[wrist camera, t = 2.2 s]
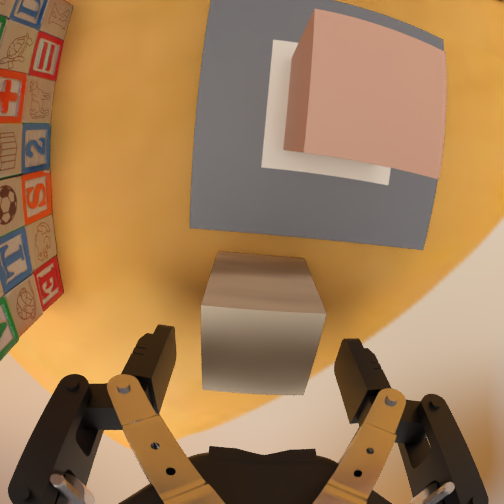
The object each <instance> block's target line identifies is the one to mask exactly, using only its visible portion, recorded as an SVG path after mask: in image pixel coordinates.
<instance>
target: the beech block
mask: <svg viewBox="0 0 504 504" xmlns="http://www.w3.org/2000/svg"><path fill="white" fill-rule="evenodd" d="M326 315H327V313H326V311H325V308H324V306H323V303H322V301H321V298H320V296H319V293H318V291H317V288H316V286H315V284H314V281H313V279H312V276H311V274H310V272H309V269H308V267H307V264H306V262H305V260H304V258H296V257H284V256H272V255H260V254H248V253H236V252H224V251H218V252H217V255H216V259H215V262H214V265H213V268H212V271H211V274H210V278H209V281H208V284H207V287H206V290H205V294H204V297H203V300H202V304H201V355H202V389H203V390H211V391H221V392H232V393H246V394H266V395H304V392H305V388H306V386H307V382H308V379H309V376H310V373H311V369H312V366H313V363H314V359H315V356H316V352H317V349H318V345H319V341H320V338H321V334H322V330H323V327H324V323H325V319H326Z"/></svg>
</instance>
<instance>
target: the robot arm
mask: <svg viewBox="0 0 504 504" xmlns="http://www.w3.org/2000/svg"><path fill="white" fill-rule="evenodd" d="M175 361H176V341H175V329H174V327H173V326H166V325H158V326H157V327H156V330H155V332H154V334H149V333H146V334H145V335H144V336H143V337H141V338H140V339H139V341H138V342H137V344H136V347H135V348H134V350H133V353H132V354H131V356H130V358H129V360H128V362H127V364H126V365H125V367H124V369H123V371H122V373H121V375H117V376H114V377H113V378H111V379H110V380H109V382H108V383H106V384H89V383H88V381H87V379H86V378H85V377H84V376H82V375H78V374H71V375H68V376H66V377H64V378H63V379H62V380H61V381H60V383H59V384H58V386H57V388H56V389H55V391H54V393H53V395H52V397H51V398H50V400H49V402H48V404H47V406H46V408H45V409H44V412H43V413H42V415H41V417H40V419H39V421H38V423H37V425H36V427H35V429H34V431H33V433H32V435H31V437H30V439H29V441H28V443H27V445H26V447H25V449H24V451H23V454H22V456H21V458H20V460H19V462H18V465H17V467H16V470H15V472H14V474H13V477H12V479H11V481H10V484H9V487H8V494H9V497H10V500H11V501H12V503H13V504H95V499H94V496H93V494H92V493H91V492H90V491H89V490H88V489H87V487H86V484H87V481H88V477H89V474H90V471H91V468H92V465H93V461H94V458H95V455H96V452H97V449H98V446H99V443H100V440H101V437H102V434H103V431H104V430H123V431H124V434H125V436H126V438H127V440H128V442H129V444H130V446H131V448H132V450H133V452H134V454H135V456H136V458H137V460H138V462H139V464H140V466H141V468H142V470H143V472H144V473H145V475H146V477H147V479H148V481H149V482H150V484H149V485H147V486H145V487H144V488H142V489H141V490H139V491H138V492H136V493H135V494H133V495H132V496H130V497H128V498H127V499H126V500H124V501H122V502H120V503H119V504H392V503H390V502H389V501H387V500H386V499H384V498H383V497H382V496H380V495H379V494H378V493H376V492H375V491H373V490H372V489H373V487H374V485H375V483H376V481H377V479H378V477H379V475H380V473H381V471H382V469H383V467H384V465H385V463H386V460H387V458H388V456H389V454H390V451H391V449H392V447H393V444H394V442H397V443H398V446H399V449H400V452H401V456H402V459H403V462H404V466H405V469H406V473H407V476H408V480H409V484H410V487H411V491H412V495H413V499H412V500H411V501H410V504H488V496H487V493H486V490H485V488H484V485H483V482H482V480H481V478H480V475H479V472H478V470H477V467H476V465H475V462H474V460H473V458H472V456H471V453H470V451H469V449H468V447H467V444H466V442H465V440H464V438H463V436H462V434H461V431H460V429H459V427H458V425H457V423H456V421H455V419H454V417H453V415H452V413H451V411H450V409H449V407H448V405H447V404H446V402H445V400H444V399H443V398H442V397H440V396H438V395H435V394H428V395H426V396H424V397H423V399H422V400H421V402H420V401H411V400H406V399H405V397H404V395H403V394H402V393H401V392H399V391H398V390H395V389H392V388H391V387H390V385H389V382H388V380H387V378H386V376H385V374H384V372H383V370H382V369H381V366H380V364H379V363H378V360H377V359H376V356H375V354H373V353H372V352H371V351H370V350H369V349H368V348H364V347H363V345H362V343H361V341H360V340H359V339H343V340H342V343H341V346H340V349H339V352H338V355H337V358H336V361H335V366H334V372H335V376H336V379H337V383H338V386H339V389H340V392H341V395H342V399H343V402H344V406H345V409H346V412H347V416H348V419H349V422H350V424H351V423H359V428H358V430H357V432H356V434H355V436H354V437H353V439H352V441H351V442H350V444H349V446H348V447H347V449H346V450H345V452H344V454H343V455H342V457H341V458H340V460H339V462H338V463H336V462H335V461H332V460H331V459H328V458H325V457H321V456H316V451H315V449H301V450H287V451H283V452H278V453H274V454H268V455H260V454H256V453H252V452H247V451H244V450H240V449H236V448H224V447H214V446H210V447H209V453H202V454H197V455H194V456H191V457H187V456H186V455H185V453H184V452H183V450H182V449H181V447H180V446H179V444H178V443H177V441H176V440H175V438H174V436H173V435H172V433H171V432H170V430H169V429H168V427H167V425H166V424H165V422H164V420H163V419H162V417H161V416H160V415H159V412H160V409H161V406H162V403H163V400H164V396H165V393H166V390H167V387H168V384H169V381H170V377H171V374H172V371H173V368H174V365H175ZM426 437H428V440H429V443H430V445H429V443H428V440H427V438H426ZM430 446H431V448H430Z"/></svg>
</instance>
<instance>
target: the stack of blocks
mask: <svg viewBox="0 0 504 504" xmlns="http://www.w3.org/2000/svg"><path fill="white" fill-rule="evenodd" d="M72 10H73V5H71V4H70V3H68V2H66V1H64V0H0V361H1V360H2V359H3V357H4V356H5V355H6V354H7V353H8V352H9V351H10V349H11V348H12V347H13V346H14V345H15V344H16V343H17V342H18V340H19V337H20V336H21V335H22V334H23V333H24V332H25V331H26V330H27V329H28V328H29V327H30V326H31V325H32V324H33V323H34V322H35V321H36V320H37V319H38V318H39V317H40V316H41V315H42V314H43V312H44V311H45V310H46V309H47V308H48V307H49V306H51V305H52V304H53V303H54V302H55V301H56V300H57V299H58V298H59V297H60V296H61V295H62V294H63V293H64V292H63V287H62V282H61V278H60V273H59V267H58V262H57V257H56V254H57V249H56V241H55V233H54V224H53V217H52V200H51V171H50V169H49V167H50V133H51V125H50V123H51V115H52V104H53V95H54V87H55V81H56V78H57V72H58V67H59V61H60V56H61V51H62V47H63V42H64V38H65V35H66V31H67V27H68V23H69V20H70V16H71V13H72Z"/></svg>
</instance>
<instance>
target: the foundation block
mask: <svg viewBox="0 0 504 504" xmlns="http://www.w3.org/2000/svg"><path fill="white" fill-rule="evenodd" d="M446 98H447V74H446V52H445V51H442V50H440V49H438V48H436V47H434V46H432V45H430V44H428V43H425V42H423V41H421V40H418V39H416V38H414V37H411V36H409V35H406V34H403V33H401V32H398V31H395V30H393V29H390V28H387V27H384V26H381V25H378V24H375V23H372V22H368V21H365V20H361V19H358V18H354V17H351V16H347V15H343V14H338V13H334V12H330V11H325V10H320V9H314V11H313V13H312V15H311V17H310V19H309V22H308V24H307V26H306V28H305V30H304V32H303V34H302V36H301V39H300V41H299V43H298V45H297V47H296V49H295V52H294V54H293V56H292V59H291V71H290V83H289V94H288V105H287V116H286V127H285V137H284V147H283V150H288V151H296V152H304V153H311V154H318V155H325V156H331V157H337V158H343V159H349V160H354V161H360V162H365V163H370V164H375V165H380V166H385V167H390V168H394V169H399V170H403V171H407V172H411V173H415V174H419V175H423V176H427V177H431V178H435V179H439V178H440V171H441V164H442V156H443V147H444V136H445V122H446Z"/></svg>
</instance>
